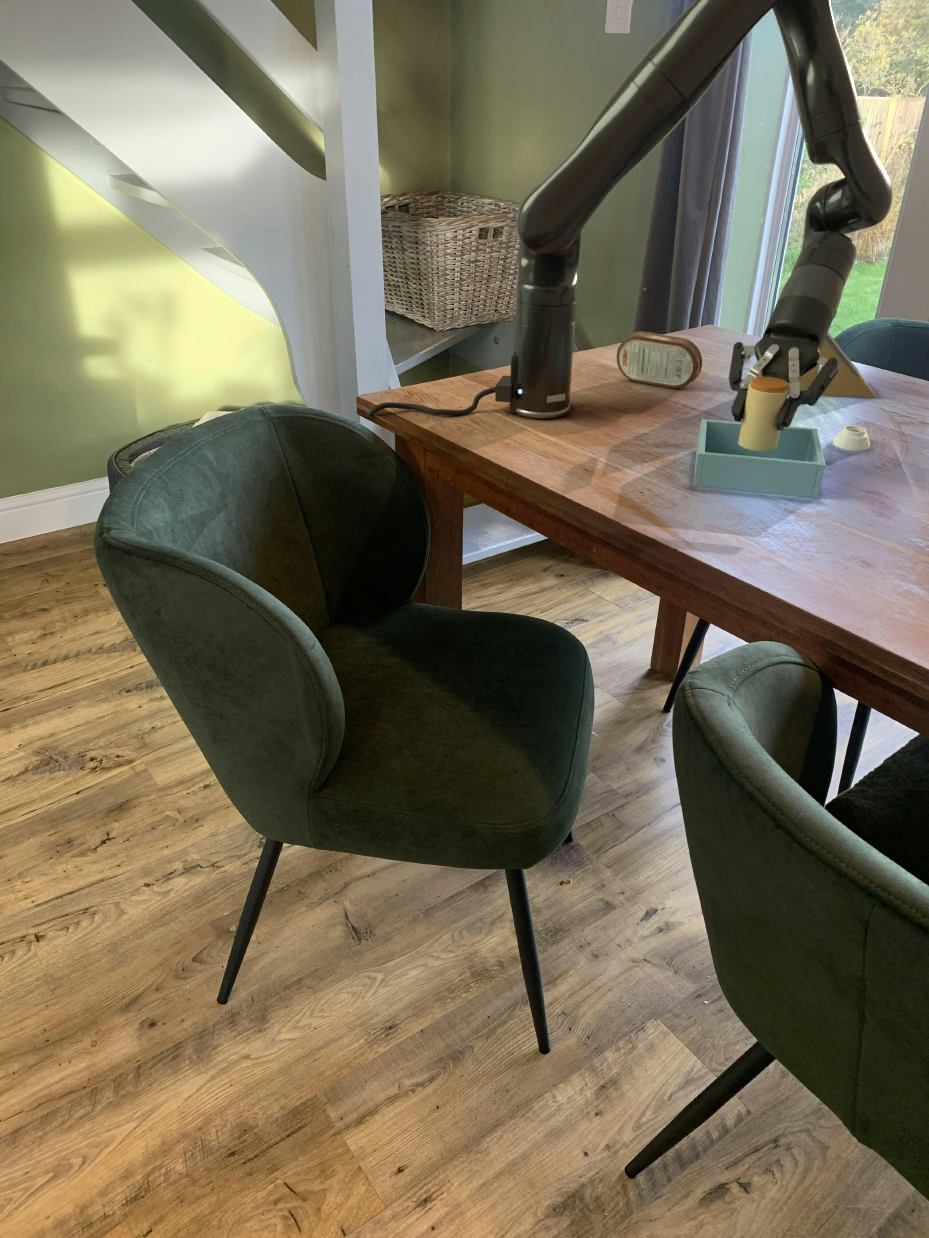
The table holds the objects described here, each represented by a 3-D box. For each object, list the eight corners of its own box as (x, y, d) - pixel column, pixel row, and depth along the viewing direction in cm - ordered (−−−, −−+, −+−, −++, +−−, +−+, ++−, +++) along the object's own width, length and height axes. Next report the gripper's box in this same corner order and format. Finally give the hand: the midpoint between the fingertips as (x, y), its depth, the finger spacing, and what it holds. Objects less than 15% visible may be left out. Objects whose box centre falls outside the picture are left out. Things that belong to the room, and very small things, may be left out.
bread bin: (692, 490, 115) (698, 453, 113) (696, 452, 126) (701, 418, 124) (816, 502, 112) (825, 465, 109) (809, 463, 123) (817, 428, 120)
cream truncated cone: (825, 443, 130) (844, 455, 126) (829, 424, 128) (849, 436, 124) (855, 440, 131) (875, 453, 126) (860, 421, 129) (880, 433, 125)
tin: (699, 388, 152) (706, 339, 147) (692, 393, 150) (700, 343, 145) (619, 375, 159) (623, 327, 154) (612, 379, 156) (616, 331, 152)
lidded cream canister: (738, 449, 115) (749, 386, 111) (738, 436, 120) (749, 374, 115) (777, 453, 114) (791, 389, 110) (776, 440, 118) (788, 378, 114)
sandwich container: (878, 398, 148) (902, 306, 140) (784, 394, 149) (802, 303, 141) (866, 383, 155) (888, 294, 147) (776, 379, 157) (793, 291, 149)
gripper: (748, 286, 116) (700, 398, 114) (861, 300, 109) (812, 420, 107) (754, 319, 122) (709, 426, 120) (861, 335, 116) (814, 448, 114)
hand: (758, 422), depth 114 cm, fingers closed on lidded cream canister, 5 cm apart
